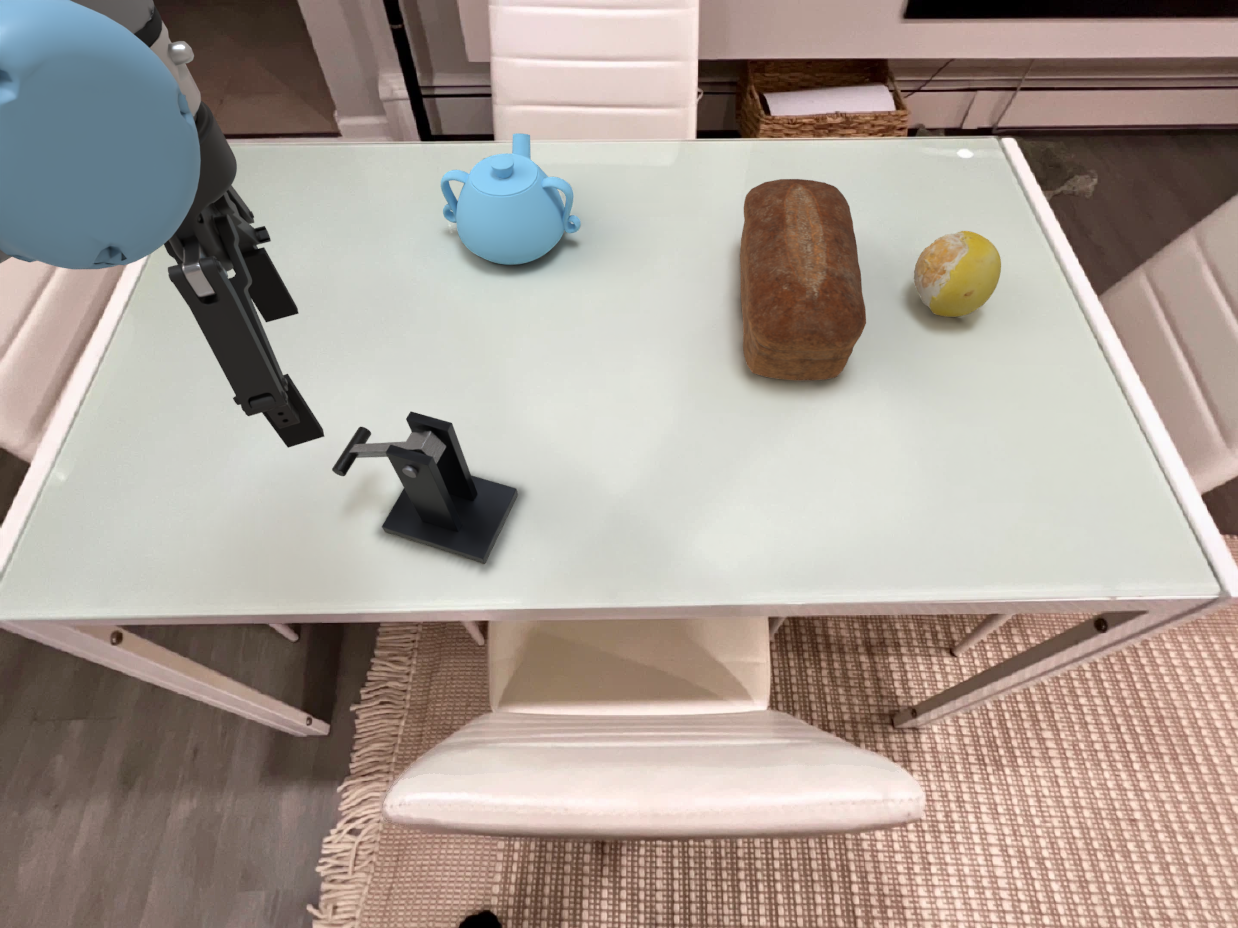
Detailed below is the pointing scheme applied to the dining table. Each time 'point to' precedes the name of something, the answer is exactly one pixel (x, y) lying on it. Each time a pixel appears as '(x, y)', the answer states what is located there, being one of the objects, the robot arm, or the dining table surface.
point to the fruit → (957, 273)
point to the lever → (359, 448)
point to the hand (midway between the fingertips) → (293, 373)
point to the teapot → (509, 207)
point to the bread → (799, 281)
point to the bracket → (446, 497)
